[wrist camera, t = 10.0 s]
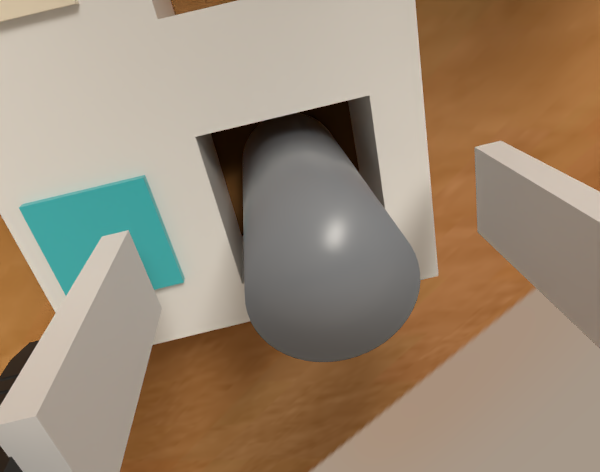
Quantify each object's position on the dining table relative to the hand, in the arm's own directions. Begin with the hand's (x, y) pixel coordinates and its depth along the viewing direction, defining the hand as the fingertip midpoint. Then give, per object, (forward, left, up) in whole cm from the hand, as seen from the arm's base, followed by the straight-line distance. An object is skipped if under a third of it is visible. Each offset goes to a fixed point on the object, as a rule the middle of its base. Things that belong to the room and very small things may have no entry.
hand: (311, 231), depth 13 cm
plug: (0, 0, -7) cm, 7 cm away
